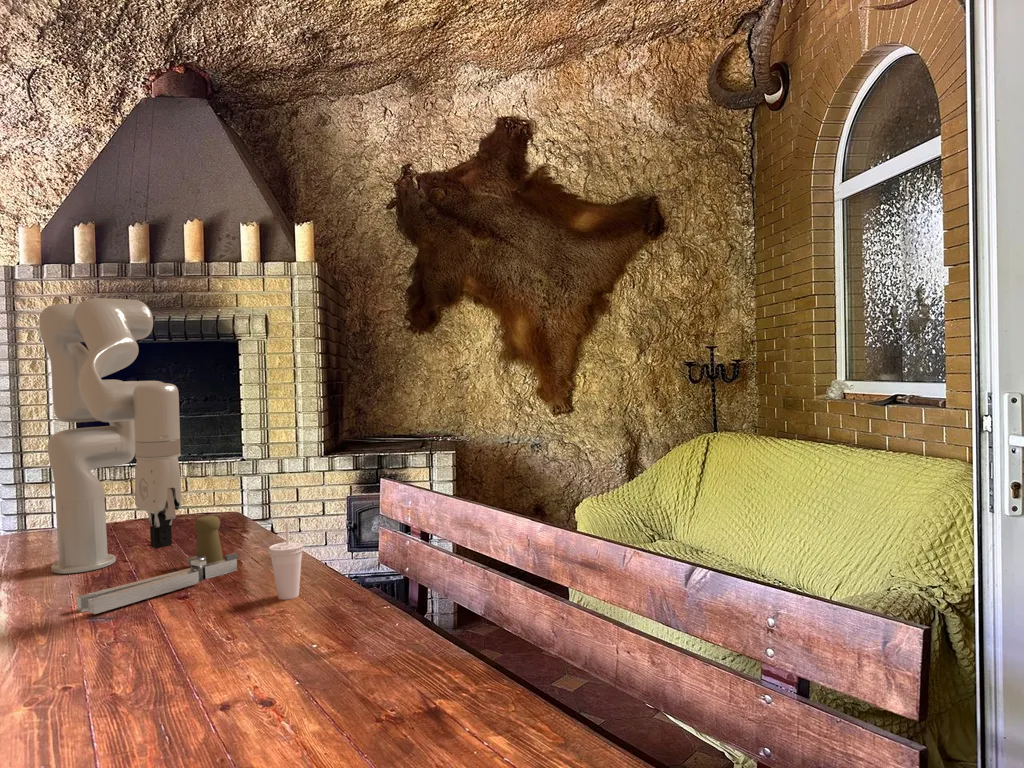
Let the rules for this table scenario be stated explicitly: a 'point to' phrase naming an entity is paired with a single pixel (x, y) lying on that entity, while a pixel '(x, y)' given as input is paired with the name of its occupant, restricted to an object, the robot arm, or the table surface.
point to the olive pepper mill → (208, 538)
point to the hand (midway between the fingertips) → (161, 546)
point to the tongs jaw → (147, 589)
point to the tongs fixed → (204, 573)
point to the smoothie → (287, 566)
